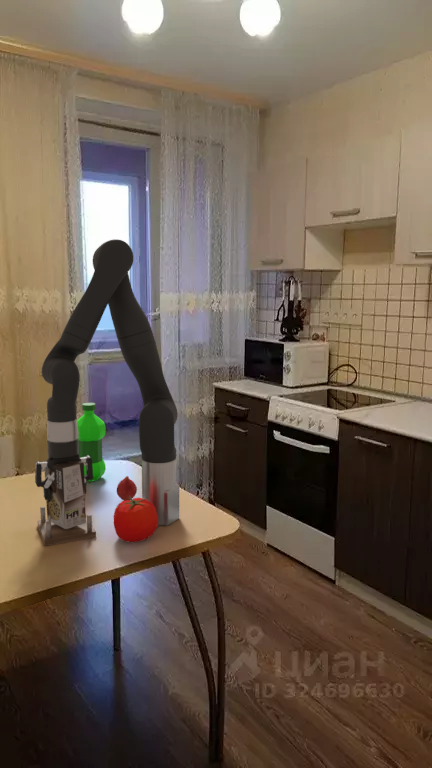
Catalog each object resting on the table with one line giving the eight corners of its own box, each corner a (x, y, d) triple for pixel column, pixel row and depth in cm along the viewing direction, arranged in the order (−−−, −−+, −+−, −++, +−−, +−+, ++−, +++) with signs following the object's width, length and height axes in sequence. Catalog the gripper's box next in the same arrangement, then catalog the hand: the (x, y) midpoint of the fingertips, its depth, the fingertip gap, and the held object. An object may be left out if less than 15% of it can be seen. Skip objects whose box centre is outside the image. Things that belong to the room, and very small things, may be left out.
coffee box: (87, 522, 147) (85, 462, 144) (65, 530, 143) (62, 468, 140) (67, 512, 153) (65, 454, 151) (46, 519, 149) (43, 459, 146)
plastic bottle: (75, 485, 182) (72, 408, 178) (75, 474, 192) (72, 401, 188) (107, 483, 184) (105, 406, 180) (105, 472, 194) (104, 400, 190)
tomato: (129, 525, 153) (128, 488, 151) (167, 533, 148) (166, 495, 146) (102, 543, 142) (101, 504, 140) (141, 553, 137) (141, 512, 136)
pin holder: (96, 537, 145) (95, 516, 144) (44, 546, 140) (43, 524, 139) (85, 518, 157) (85, 499, 156) (37, 526, 152) (36, 506, 151)
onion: (113, 503, 167) (112, 477, 166) (123, 497, 173) (122, 471, 171) (130, 506, 165) (130, 480, 164) (140, 500, 170) (140, 474, 169)
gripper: (88, 430, 150) (90, 489, 153) (31, 436, 145) (34, 497, 147) (94, 437, 144) (96, 499, 147) (35, 443, 138) (38, 508, 141)
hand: (65, 498), depth 147 cm, fingers closed on coffee box, 8 cm apart
